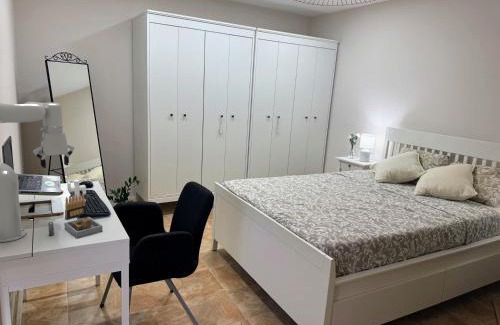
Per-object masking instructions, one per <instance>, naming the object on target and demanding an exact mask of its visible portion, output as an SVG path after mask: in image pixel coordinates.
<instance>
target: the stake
mask: <svg viewBox="0 0 500 325" xmlns="http://www.w3.org/2000/svg"><path fill="white" fill-rule="evenodd" d="M47 224H48V236H49V237H53V236H55V231H54V230H55V229H54V222H53V221H50V222H48V223H47Z"/></svg>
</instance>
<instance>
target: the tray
mask: <svg viewBox="0 0 500 325" xmlns="http://www.w3.org/2000/svg"><path fill="white" fill-rule="evenodd" d="M87 217H88V218H89V219H91V225H92V228H89V229H85V230H81V231H76V230H75V229H74V228H73V227H72V222H76V221H80V220H81V219H82V218H79V219H75V220H71V221H66V222H64V224H63V225H64V230H65V231H66V232H68V233H70V235H71V236H73V237H74V238H76V239H80V238H83V237H84V238H85V237H87V236H91V235H95V234H98V233H99V234H100V233H102V232H104V231H103V225H102V224H100V223H99V222H97V221H96V220H95V219H93V218H92V217H90V216H87Z"/></svg>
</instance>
